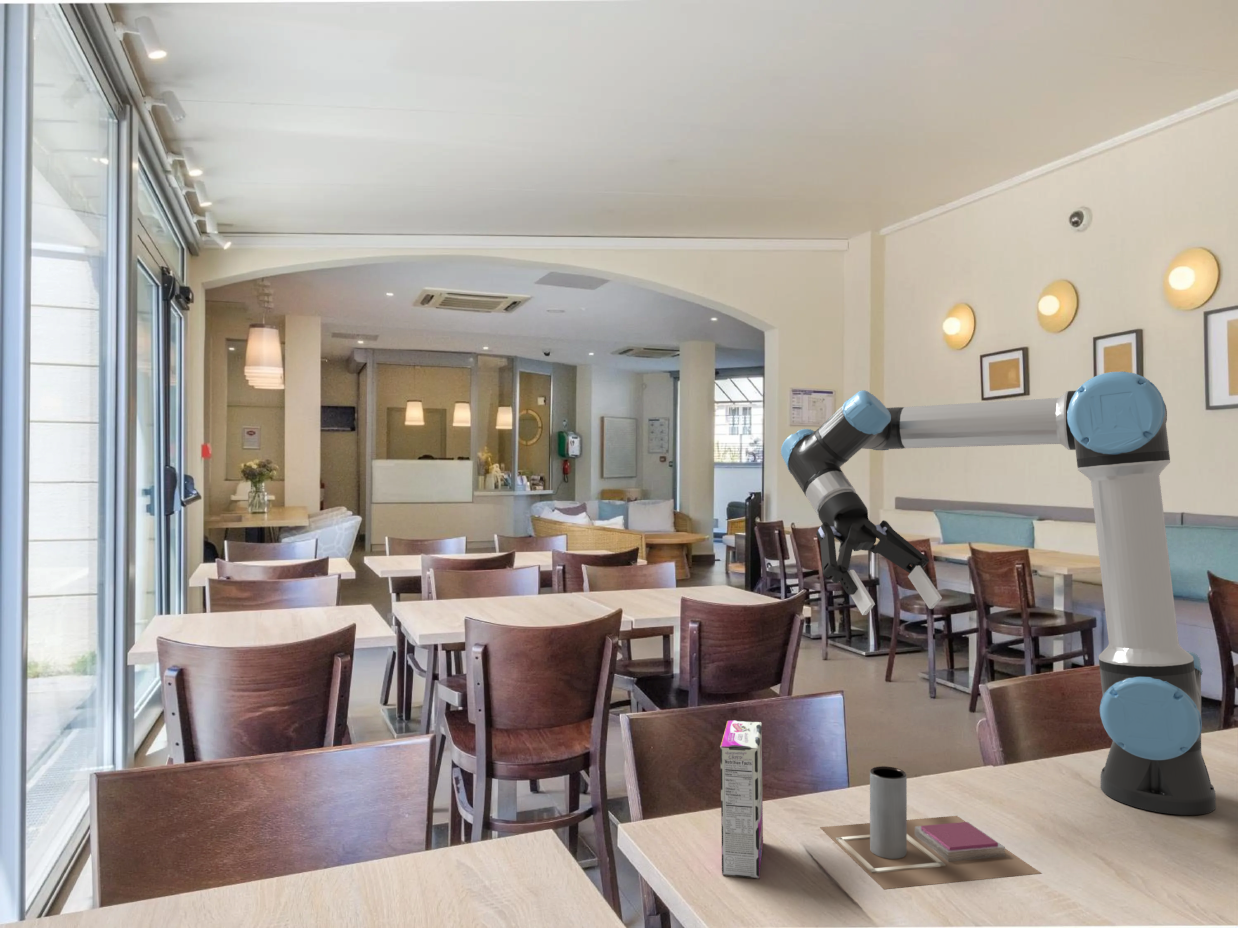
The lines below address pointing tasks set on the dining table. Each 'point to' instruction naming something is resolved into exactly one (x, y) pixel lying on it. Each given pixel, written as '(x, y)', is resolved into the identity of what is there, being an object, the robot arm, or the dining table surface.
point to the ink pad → (959, 841)
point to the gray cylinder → (888, 812)
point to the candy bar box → (741, 799)
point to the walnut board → (921, 859)
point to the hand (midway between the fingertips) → (903, 606)
